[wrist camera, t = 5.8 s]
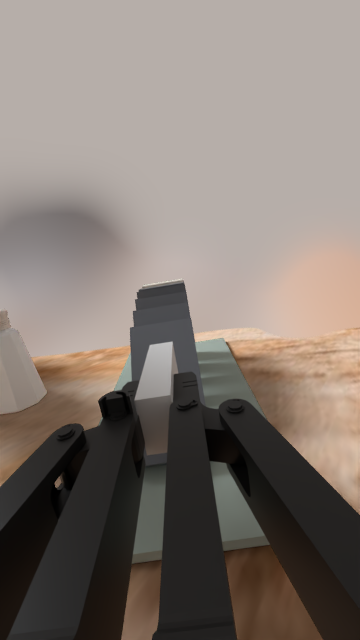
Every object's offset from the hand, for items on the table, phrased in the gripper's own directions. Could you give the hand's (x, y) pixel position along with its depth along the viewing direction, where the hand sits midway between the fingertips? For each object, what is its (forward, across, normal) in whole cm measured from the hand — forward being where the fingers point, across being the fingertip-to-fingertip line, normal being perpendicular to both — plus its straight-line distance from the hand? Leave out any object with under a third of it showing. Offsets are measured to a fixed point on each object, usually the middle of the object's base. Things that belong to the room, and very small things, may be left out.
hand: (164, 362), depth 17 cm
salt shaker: (+12, -19, -8) cm, 24 cm away
